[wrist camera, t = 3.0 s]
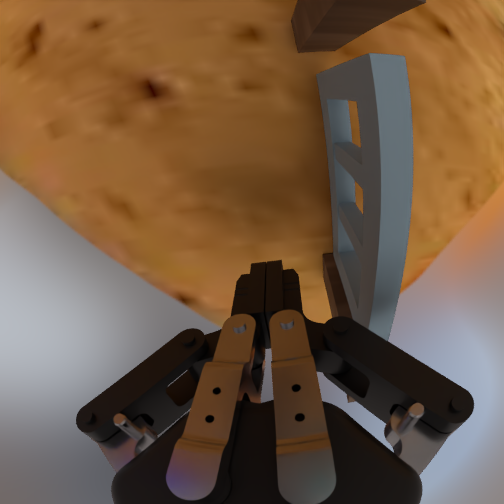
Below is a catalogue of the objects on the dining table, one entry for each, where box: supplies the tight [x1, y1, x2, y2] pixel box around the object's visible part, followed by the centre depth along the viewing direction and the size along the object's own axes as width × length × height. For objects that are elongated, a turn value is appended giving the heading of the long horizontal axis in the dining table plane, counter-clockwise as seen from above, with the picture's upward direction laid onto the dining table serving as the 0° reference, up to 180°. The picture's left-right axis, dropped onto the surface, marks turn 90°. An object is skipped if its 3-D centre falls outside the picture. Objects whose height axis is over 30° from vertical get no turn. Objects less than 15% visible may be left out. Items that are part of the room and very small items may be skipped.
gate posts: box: [291, 0, 426, 403], centre depth 13 cm, size 21×2×12 cm, turn 10°
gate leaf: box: [316, 53, 413, 341], centre depth 13 cm, size 13×1×10 cm, turn 10°
